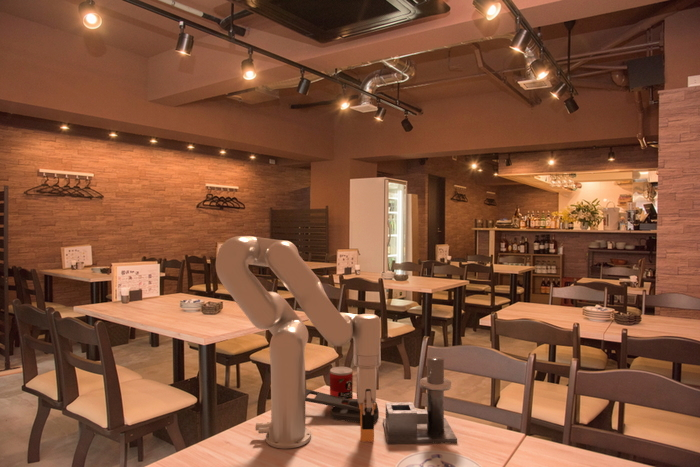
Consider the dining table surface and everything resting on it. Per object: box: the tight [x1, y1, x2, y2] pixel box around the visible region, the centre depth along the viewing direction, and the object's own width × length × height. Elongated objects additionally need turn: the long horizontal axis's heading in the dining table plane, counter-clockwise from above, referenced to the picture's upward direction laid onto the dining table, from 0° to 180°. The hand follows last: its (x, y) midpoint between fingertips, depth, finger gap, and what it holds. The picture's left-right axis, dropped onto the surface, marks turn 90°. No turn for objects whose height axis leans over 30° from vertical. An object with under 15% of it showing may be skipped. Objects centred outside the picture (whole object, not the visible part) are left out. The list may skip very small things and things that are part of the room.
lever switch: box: [382, 356, 458, 445], centre depth 133 cm, size 19×14×21 cm
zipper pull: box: [305, 388, 380, 424], centre depth 145 cm, size 9×7×25 cm
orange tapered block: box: [359, 401, 375, 442], centre depth 129 cm, size 4×3×10 cm
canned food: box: [329, 366, 354, 405], centre depth 157 cm, size 8×8×11 cm
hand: (367, 422), depth 129 cm, fingers open, 6 cm apart
